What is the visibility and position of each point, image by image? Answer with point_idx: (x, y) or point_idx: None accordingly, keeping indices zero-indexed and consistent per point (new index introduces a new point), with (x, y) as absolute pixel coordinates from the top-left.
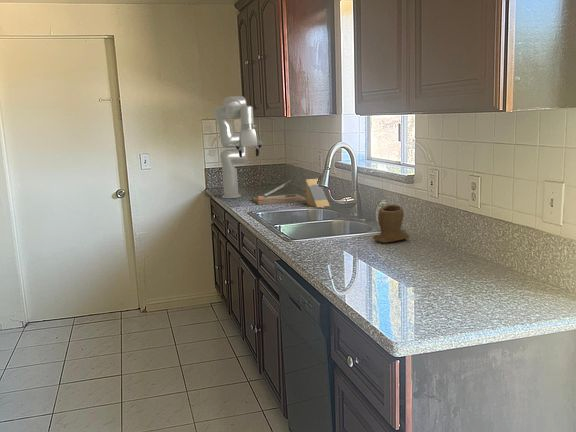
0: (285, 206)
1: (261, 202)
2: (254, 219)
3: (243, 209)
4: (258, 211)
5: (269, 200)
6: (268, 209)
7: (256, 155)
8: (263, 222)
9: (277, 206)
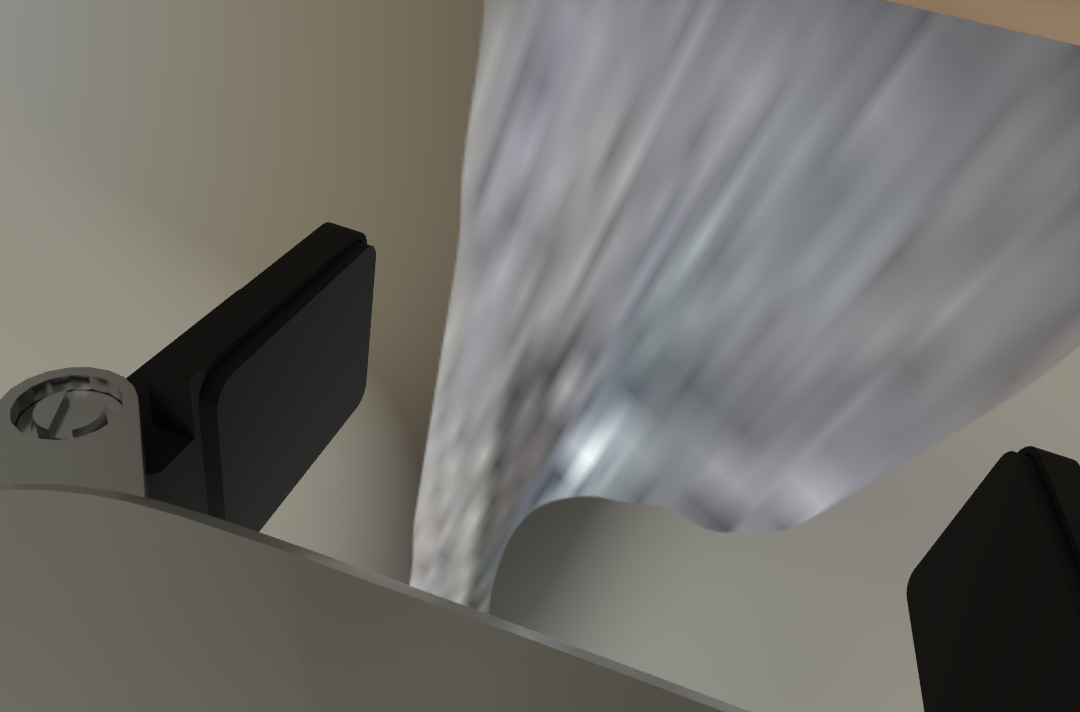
0: (992, 357)
1: (922, 8)
2: (466, 574)
3: (559, 185)
4: (622, 381)
5: (1071, 16)
6: (747, 367)
7: (954, 537)
8: None
9: (935, 294)
